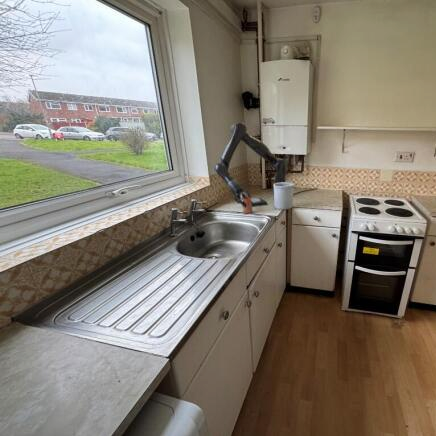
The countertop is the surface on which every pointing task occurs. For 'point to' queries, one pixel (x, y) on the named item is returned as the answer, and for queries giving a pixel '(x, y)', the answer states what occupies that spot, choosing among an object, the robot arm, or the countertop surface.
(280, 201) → the utensil holder
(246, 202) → the cup
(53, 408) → the countertop surface
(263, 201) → the kitchen scale
